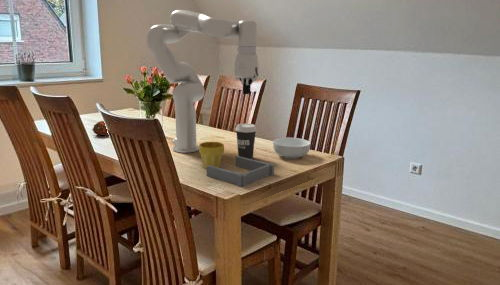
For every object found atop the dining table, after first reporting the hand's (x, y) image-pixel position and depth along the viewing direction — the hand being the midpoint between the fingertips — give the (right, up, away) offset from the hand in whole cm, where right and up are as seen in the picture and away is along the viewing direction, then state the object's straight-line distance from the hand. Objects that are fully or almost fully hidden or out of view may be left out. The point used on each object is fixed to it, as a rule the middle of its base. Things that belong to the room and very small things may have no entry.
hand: (246, 93), depth 190 cm
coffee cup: (0, -28, +8) cm, 29 cm away
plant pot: (-15, -32, -6) cm, 35 cm away
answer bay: (-3, -34, -15) cm, 37 cm away
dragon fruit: (-78, -17, +45) cm, 92 cm away
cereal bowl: (+20, -28, +11) cm, 36 cm away
